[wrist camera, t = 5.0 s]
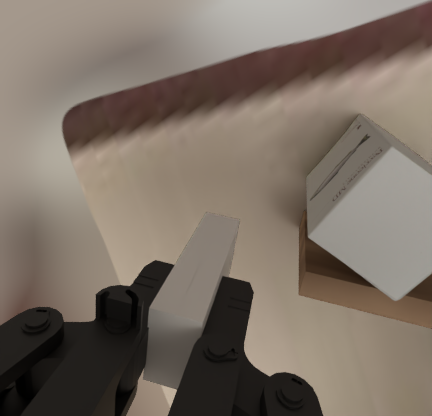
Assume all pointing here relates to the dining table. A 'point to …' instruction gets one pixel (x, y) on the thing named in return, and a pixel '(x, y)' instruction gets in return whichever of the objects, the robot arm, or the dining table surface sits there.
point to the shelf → (356, 286)
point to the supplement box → (374, 208)
